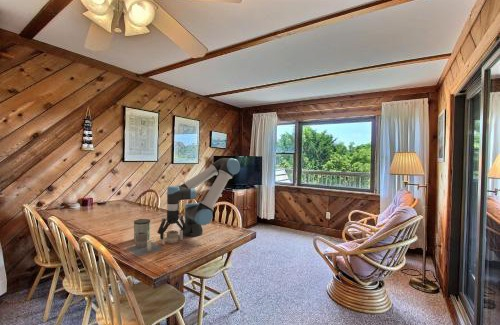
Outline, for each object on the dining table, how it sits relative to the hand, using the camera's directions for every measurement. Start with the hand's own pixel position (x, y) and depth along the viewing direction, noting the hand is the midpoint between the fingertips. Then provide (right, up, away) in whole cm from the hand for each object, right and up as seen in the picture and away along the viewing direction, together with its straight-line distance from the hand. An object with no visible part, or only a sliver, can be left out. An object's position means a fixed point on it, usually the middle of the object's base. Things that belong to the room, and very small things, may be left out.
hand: (172, 241), depth 171 cm
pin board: (-13, -2, -12) cm, 18 cm away
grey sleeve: (-17, 0, -8) cm, 19 cm away
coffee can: (-22, -1, +4) cm, 22 cm away
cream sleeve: (0, -2, 0) cm, 2 cm away
